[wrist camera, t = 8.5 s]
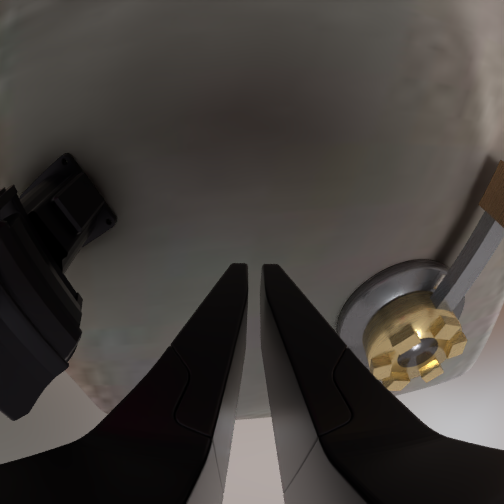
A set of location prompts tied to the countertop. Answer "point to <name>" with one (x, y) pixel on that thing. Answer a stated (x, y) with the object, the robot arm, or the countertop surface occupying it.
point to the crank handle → (433, 307)
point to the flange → (387, 298)
